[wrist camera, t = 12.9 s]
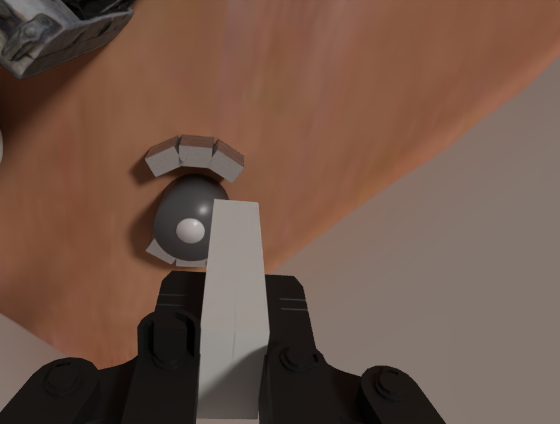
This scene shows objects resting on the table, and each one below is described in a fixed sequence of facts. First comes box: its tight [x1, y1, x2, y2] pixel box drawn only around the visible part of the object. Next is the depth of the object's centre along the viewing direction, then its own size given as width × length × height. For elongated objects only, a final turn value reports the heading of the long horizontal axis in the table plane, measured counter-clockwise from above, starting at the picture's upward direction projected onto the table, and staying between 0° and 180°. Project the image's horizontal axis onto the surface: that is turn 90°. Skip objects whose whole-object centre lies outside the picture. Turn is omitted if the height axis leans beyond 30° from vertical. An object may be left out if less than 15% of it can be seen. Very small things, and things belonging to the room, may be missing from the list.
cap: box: [153, 174, 229, 261], centre depth 42 cm, size 6×6×5 cm
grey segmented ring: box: [145, 135, 244, 268], centre depth 43 cm, size 12×8×3 cm
